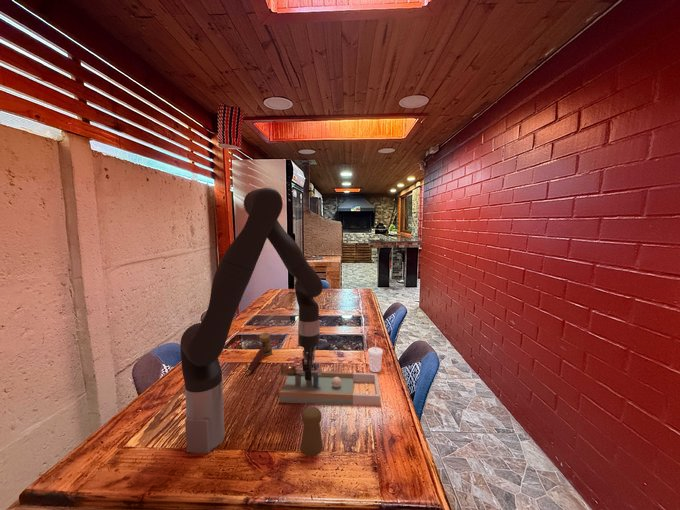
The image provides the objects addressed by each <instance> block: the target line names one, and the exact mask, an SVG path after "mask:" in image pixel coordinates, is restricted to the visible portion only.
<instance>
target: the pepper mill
mask: <svg viewBox="0 0 680 510" xmlns="http://www.w3.org/2000/svg"><path fill="white" fill-rule="evenodd" d="M301 420H302V423H303V430H302V435H301V436H302V437H301V443H300V445H301V446H300V450H301V453H302V454H304V455H305V456H308V457H314V456H317V455H319V454H320V453H321V452H322V450H323V446H324V445H323V439H322V430H321V421H322V412H321V410H320V409H319V408H318V407H315V406H309V407H306V408H305V409H304V410H303V412H302V415H301Z"/></svg>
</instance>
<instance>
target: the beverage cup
mask: <svg viewBox="0 0 680 510" xmlns="http://www.w3.org/2000/svg"><path fill="white" fill-rule="evenodd" d="M367 351H368V352H367V353H368V359H369V360H368V366H369V368H368V369H369V370H370V371H371V372H372V373H373V372H374V373H379V372H380V371H381V370H382V362H383V361H382V359H383V353H384V350H383V349H382V348H381V347H378V346H377V338H375V339H374V347H373V346H372V347H370V348H368V349H367Z"/></svg>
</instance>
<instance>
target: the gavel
mask: <svg viewBox="0 0 680 510" xmlns="http://www.w3.org/2000/svg"><path fill="white" fill-rule="evenodd" d="M258 337H259V341H260V343H261V348H259V350H258V351H257V352H256V354H255V356H254V358H253V359H252V361H251V363H249V366H248V367H247V371H246V376H249V375H250V374H252V372H254V371H255V369H256V368H257V365H258V363H260V360H261V359H262V358H263V357H269V356H271V355H272V353H273V348H272V346H271V335H270V333H269V332H263V333H261V334H259V336H258Z"/></svg>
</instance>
